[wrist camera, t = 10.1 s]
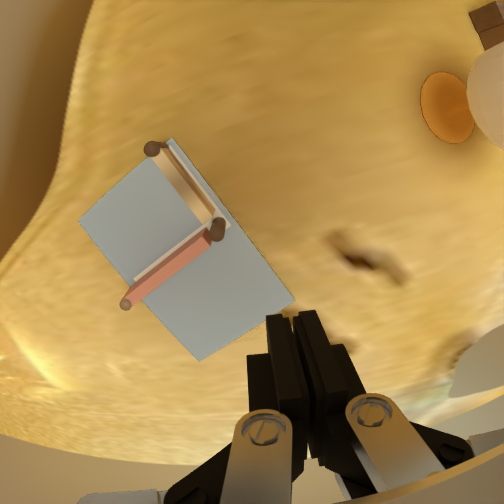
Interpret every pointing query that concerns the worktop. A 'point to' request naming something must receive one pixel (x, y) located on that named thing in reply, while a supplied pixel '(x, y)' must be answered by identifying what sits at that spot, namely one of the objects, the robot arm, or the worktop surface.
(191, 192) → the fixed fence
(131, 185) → the card
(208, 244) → the bar
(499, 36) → the wooden toy
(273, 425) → the robot arm
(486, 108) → the cup
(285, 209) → the worktop surface
